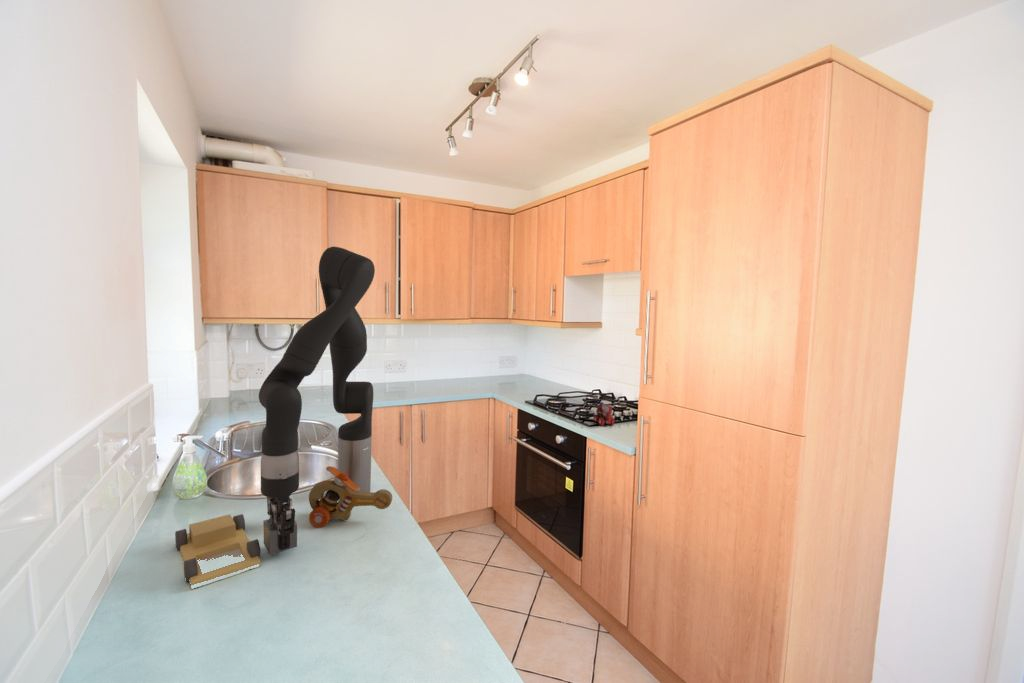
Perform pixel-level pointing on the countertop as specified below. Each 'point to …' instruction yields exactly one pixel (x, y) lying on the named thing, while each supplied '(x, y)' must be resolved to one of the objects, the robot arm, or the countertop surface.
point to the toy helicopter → (341, 499)
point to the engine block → (276, 536)
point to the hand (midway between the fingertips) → (280, 541)
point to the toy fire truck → (604, 414)
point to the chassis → (216, 546)
